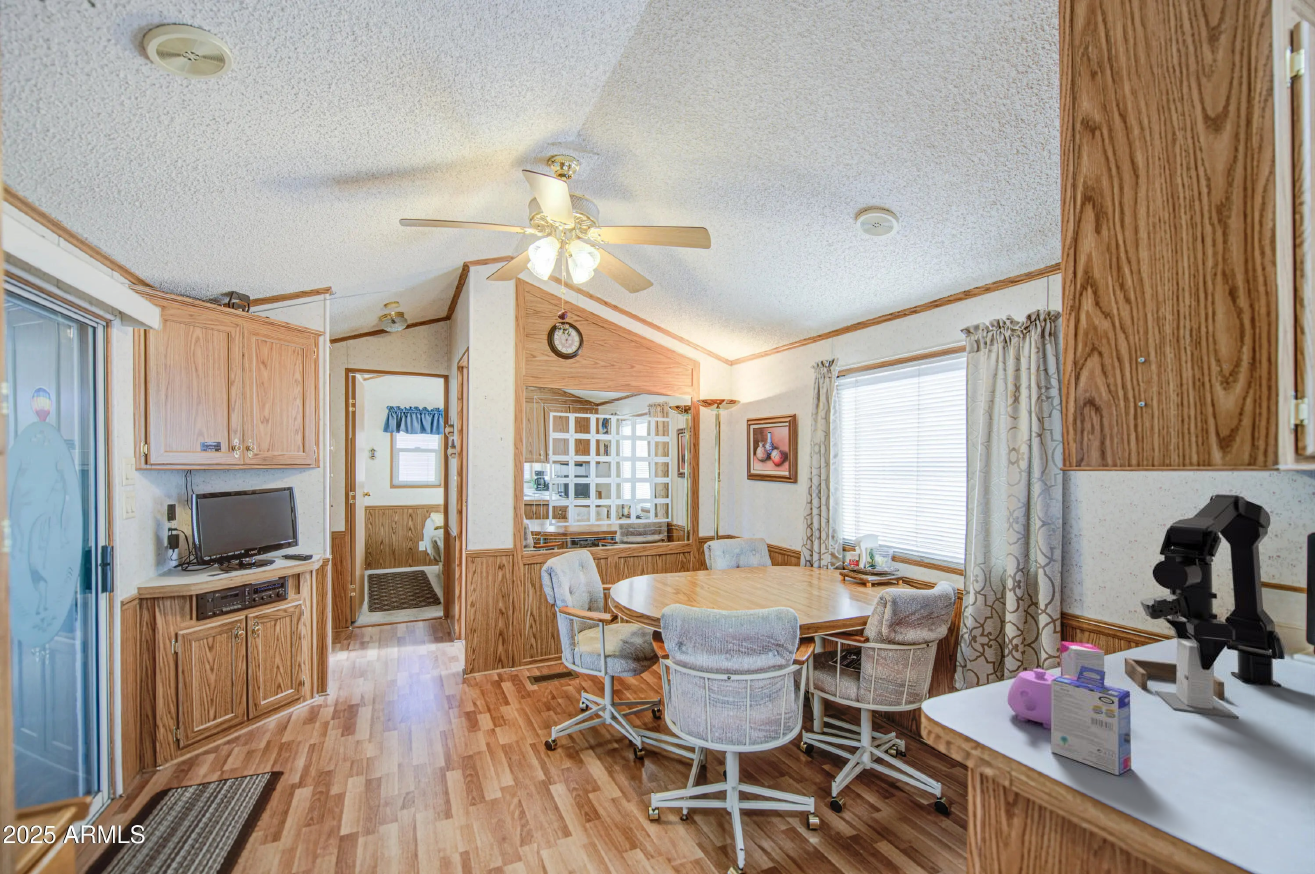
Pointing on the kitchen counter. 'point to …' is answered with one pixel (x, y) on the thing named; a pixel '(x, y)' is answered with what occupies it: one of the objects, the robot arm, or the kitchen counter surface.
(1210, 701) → the skincare box
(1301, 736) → the kitchen counter surface
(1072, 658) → the supplement box
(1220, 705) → the charcoal mat
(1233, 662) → the kitchen counter surface
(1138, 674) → the walnut u-shaped bracket
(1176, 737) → the kitchen counter surface
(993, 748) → the kitchen counter surface
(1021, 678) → the pink rounded plastic body
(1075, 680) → the ink cartridge box
